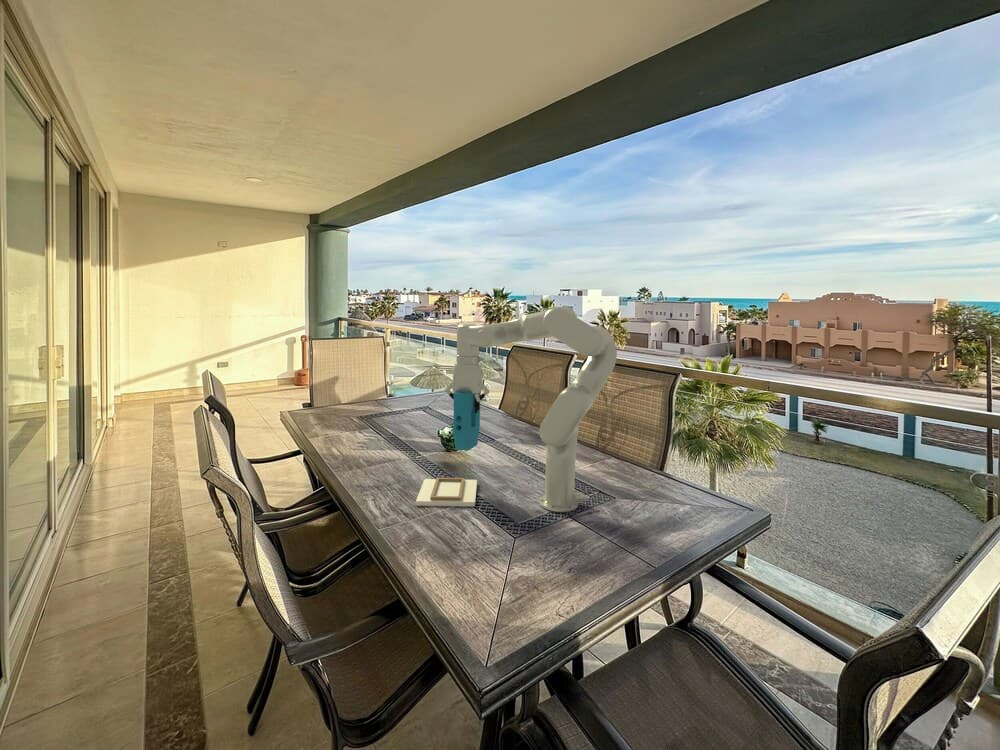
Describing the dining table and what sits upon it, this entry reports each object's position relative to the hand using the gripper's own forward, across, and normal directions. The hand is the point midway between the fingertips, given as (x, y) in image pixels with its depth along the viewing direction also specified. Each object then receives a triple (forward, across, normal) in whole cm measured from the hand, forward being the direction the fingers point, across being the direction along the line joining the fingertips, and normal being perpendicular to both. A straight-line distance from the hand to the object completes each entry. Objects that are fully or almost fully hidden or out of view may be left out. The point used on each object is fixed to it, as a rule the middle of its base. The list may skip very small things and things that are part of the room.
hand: (467, 411), depth 159 cm
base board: (+28, +6, +6) cm, 29 cm away
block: (+13, 0, 0) cm, 13 cm away
